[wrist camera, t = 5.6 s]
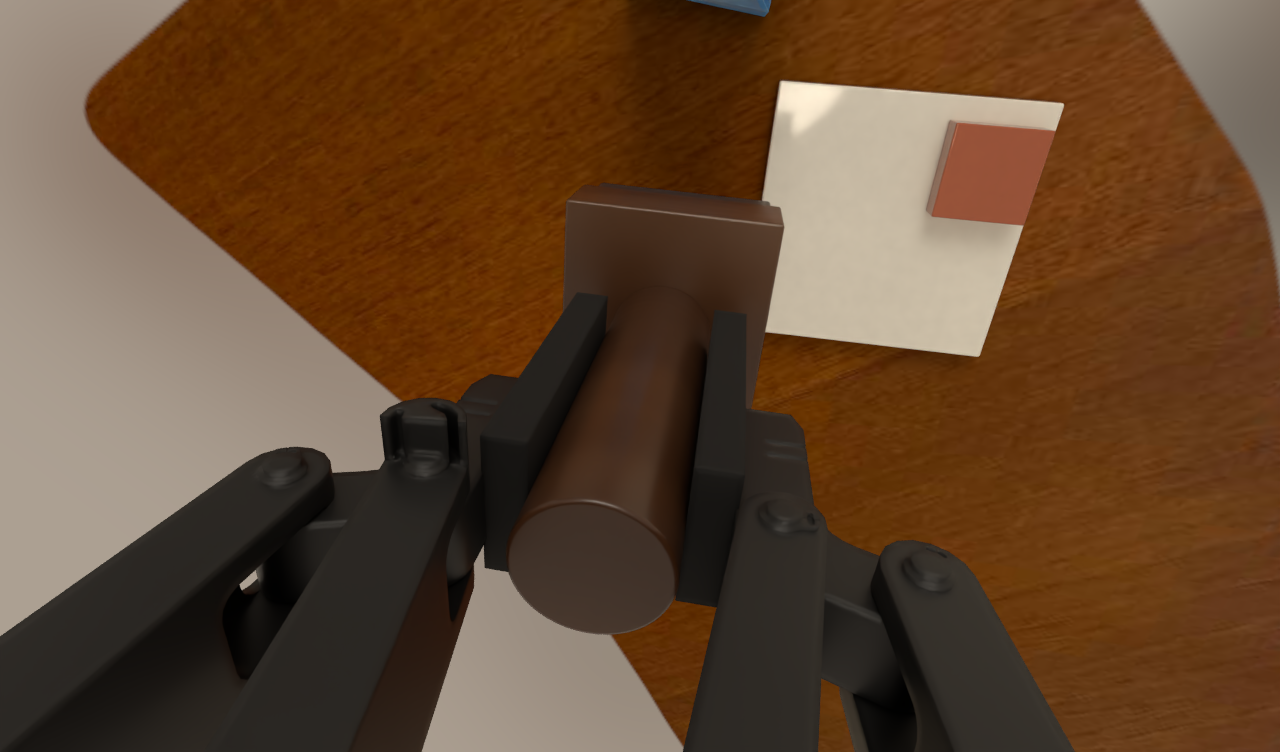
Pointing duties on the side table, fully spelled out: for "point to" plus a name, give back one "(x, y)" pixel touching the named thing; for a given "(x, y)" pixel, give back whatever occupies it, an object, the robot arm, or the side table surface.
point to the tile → (882, 217)
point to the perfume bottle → (741, 5)
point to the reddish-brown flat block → (988, 171)
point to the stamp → (638, 398)
